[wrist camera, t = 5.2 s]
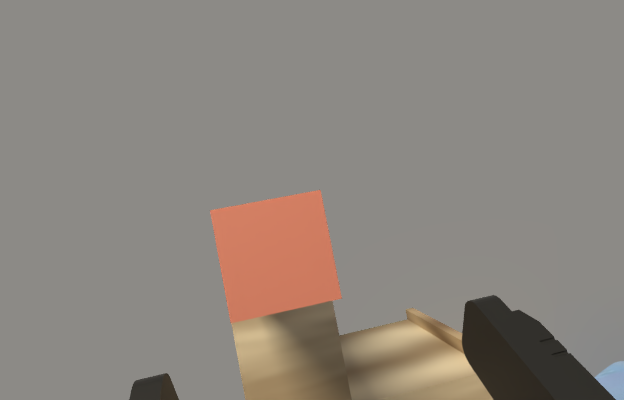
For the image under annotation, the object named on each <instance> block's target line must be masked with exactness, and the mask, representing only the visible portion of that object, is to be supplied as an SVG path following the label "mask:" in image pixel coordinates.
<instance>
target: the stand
mask: <svg viewBox="0 0 624 400" xmlns="http://www.w3.org/2000/svg"><path fill="white" fill-rule="evenodd" d="M406 313H407V320H403V321H399V322H395V323H390V324H386V325H382V326H378V327H374V328H369V329H365V330H361V331H357V332H353V333H348V334H344V335H340V336H339V333H338V327H337V323H336V317H335V312H334V307H333V302H332V301H328V302H324V303H320V304H315V305H311V306H306V307H302V308H297V309H293V310H288V311H284V312H279V313H275V314H271V315H266V316H262V317H257V318H253V319H248V320H244V321H239V322H235V323H232V328H233V334H234V339H235V344H236V350H237V355H238V361H239V366H240V372H241V377H242V382H243V388H244V393H245V399H246V400H493V398H492V397H491V395H490V394H489V392H488V391H487V389H486V388H485V386H484V385H483V383H482V382H481V380H480V379H479V378H478V376H477V375H476V373H475V372H474V370H473V369H472V367H471V366H470V364H469V363H468V361H467V359H466V357H465V354H464V351H463V347H462V333H460V332H458V331H456V330H454V329H452V328H450V327H449V326H446V325H445V324H443V323H441V322H439V321H437V320H435V319H433V318H431V317H429V316H427V315H425V314H423V313H421V312H420V311H418V310H416V309H414V308H410V309H406Z"/></svg>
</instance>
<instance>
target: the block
mask: <svg viewBox="0 0 624 400" xmlns="http://www.w3.org/2000/svg"><path fill="white" fill-rule="evenodd" d="M210 212H211V217H212V223H213V228H214V233H215V239H216V245H217V250H218V256H219V261H220V267H221V272H222V278H223V282H224V289H225V294H226V299H227V304H228V310H229V316H230V321H231V323H235V322H239V321H244V320H248V319H253V318H257V317H262V316H266V315H271V314H275V313H279V312H284V311H288V310H293V309H297V308H302V307H306V306H311V305H315V304H320V303H324V302H328V301H333V300H337V299H341V298H342V297H341V293H340V287H339V282H338V277H337V272H336V266H335V262H334V256H333V251H332V246H331V241H330V236H329V231H328V226H327V221H326V216H325V210H324V205H323V200H322V195H321V191H320V190H318V191H313V192H307V193H301V194H296V195H291V196H285V197H280V198H275V199H269V200H264V201H259V202H253V203H248V204H242V205H237V206H231V207H226V208H221V209H215V210H211V211H210Z"/></svg>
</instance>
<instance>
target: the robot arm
mask: <svg viewBox="0 0 624 400" xmlns="http://www.w3.org/2000/svg"><path fill="white" fill-rule="evenodd" d="M462 347H463V351H464V354H465V357H466V359H467V361H468V363H469V364H470V366H471V367H472V369H473V370H474V372H475V373H476V375H477V376H478V378H479V379H480V380H481V382H482V383H483V385H484V386H485V388H486V389H487V391H488V392H489V394H490V395H491V397H492V398H493V400H616V399H615V398H614V397H613V396H612V395H611V394H610V393H609V392H608V391H607V390H606V389H605V388H604V387H603V386H602V385H601V384H600V383H599V382H598V381H597V380H596V379H595V378H594V377H593V376H592V375H591V374H590V373H589V372H588V371H587V370H586V369H585V368H584V367H583V366H582V365H581V364H580V363H579V362H578V361H577V360H576V359H575V358H574V357H573V356H572V355H571V354H568V353H567V350H566V349H565V348H564V346H562V344H561V343H560V342H559V341H558V340H555V339H554V336H553V335H552V334H551V333H550V332H549V331H548V330H547V329H546V328H545V327H544V326H543V325H542V324H541V323H540V322H539V321H537V320H535V319H534V318H532V317H530V316H528V315H527V314H525V313H523V312H522V311H520V310H516V311H511V310H510V309H509V308H508V307H507V306H506V305H505V304H504V303H503V302H502V301H501V299H500V298H498V297H497V296H494V295H492V296H488V297H483V298H479V299H475V300H471V301H468V302H467V303H466V304H465V312H464V322H463V332H462ZM129 400H179V399H178V396H177V394H176V391H175V389H174V386H173V384H172V381H171V379H170V376H169V375H168V374H167V373H166V374H161V375H157V376H153V377H149V378H144V379H140V380H136V381H135V382H134V384H133V387H132V390H131V395H130V399H129Z"/></svg>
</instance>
